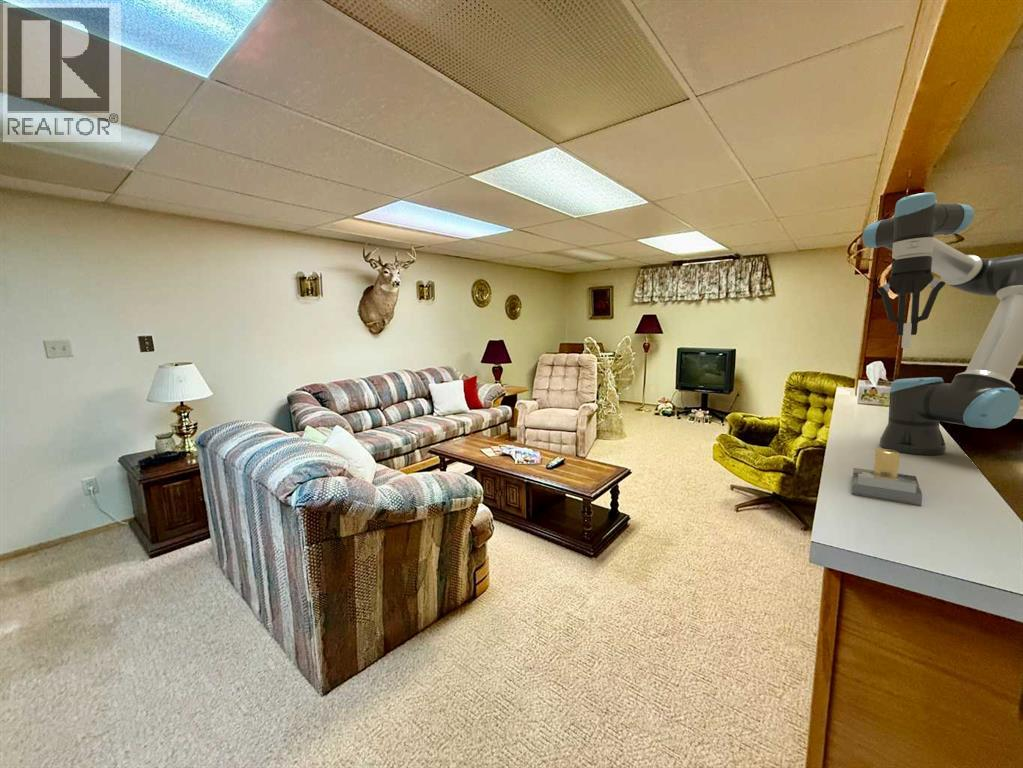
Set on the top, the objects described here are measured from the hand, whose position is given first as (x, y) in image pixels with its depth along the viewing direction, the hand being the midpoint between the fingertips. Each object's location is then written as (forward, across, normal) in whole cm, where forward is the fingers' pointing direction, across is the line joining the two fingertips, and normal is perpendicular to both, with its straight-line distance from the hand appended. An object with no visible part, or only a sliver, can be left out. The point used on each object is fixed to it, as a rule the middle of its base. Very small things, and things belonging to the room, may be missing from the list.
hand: (905, 347), depth 108 cm
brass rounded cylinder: (+34, -3, -19) cm, 39 cm away
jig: (+34, -3, -19) cm, 39 cm away
